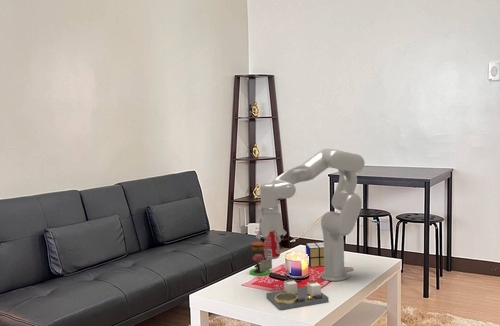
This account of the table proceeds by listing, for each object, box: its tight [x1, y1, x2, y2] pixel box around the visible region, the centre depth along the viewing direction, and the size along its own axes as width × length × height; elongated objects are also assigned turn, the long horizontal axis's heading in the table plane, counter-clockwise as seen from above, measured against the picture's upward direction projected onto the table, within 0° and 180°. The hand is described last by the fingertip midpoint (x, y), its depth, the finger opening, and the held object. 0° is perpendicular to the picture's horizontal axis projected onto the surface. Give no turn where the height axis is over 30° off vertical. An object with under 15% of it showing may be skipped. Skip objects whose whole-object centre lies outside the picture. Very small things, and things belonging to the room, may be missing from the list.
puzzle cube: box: [305, 241, 324, 268], centre depth 284 cm, size 10×10×10 cm
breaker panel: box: [265, 286, 330, 311], centre depth 234 cm, size 22×16×3 cm
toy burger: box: [249, 240, 273, 277], centre depth 272 cm, size 12×13×15 cm
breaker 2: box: [306, 281, 322, 296], centre depth 234 cm, size 4×5×5 cm
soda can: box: [262, 230, 281, 260], centre depth 245 cm, size 7×7×13 cm
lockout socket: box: [275, 293, 298, 304], centre depth 229 cm, size 10×10×1 cm
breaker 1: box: [283, 279, 298, 294], centre depth 237 cm, size 4×5×5 cm
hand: (272, 250), depth 246 cm, fingers closed on soda can, 4 cm apart
